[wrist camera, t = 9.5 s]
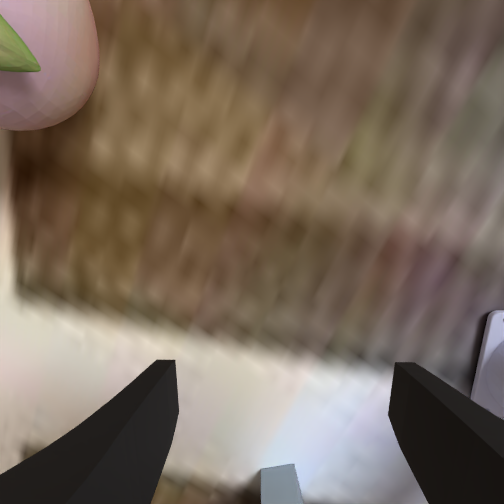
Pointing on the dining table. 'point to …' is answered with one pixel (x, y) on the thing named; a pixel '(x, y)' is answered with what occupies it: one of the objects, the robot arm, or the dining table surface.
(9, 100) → the decorative fruit
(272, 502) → the crosspiece
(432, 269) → the dining table surface
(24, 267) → the dining table surface
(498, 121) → the dining table surface
